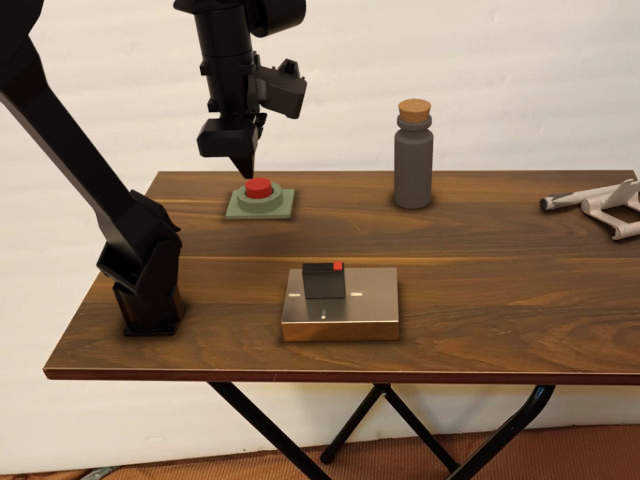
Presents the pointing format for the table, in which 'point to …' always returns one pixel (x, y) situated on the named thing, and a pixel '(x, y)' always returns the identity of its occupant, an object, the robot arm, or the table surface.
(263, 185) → the button
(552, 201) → the rocket model
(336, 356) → the table surface
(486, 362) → the table surface
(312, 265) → the stove knob
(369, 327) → the panel
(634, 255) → the table surface
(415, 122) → the bottle
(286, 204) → the switch block
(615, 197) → the tablet stand
